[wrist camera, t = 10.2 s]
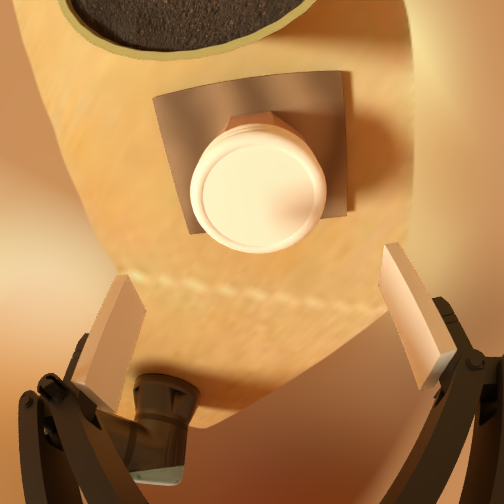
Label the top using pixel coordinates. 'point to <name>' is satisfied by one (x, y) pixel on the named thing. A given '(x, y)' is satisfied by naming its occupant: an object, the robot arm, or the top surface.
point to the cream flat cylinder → (258, 189)
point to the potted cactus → (178, 25)
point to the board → (255, 101)
